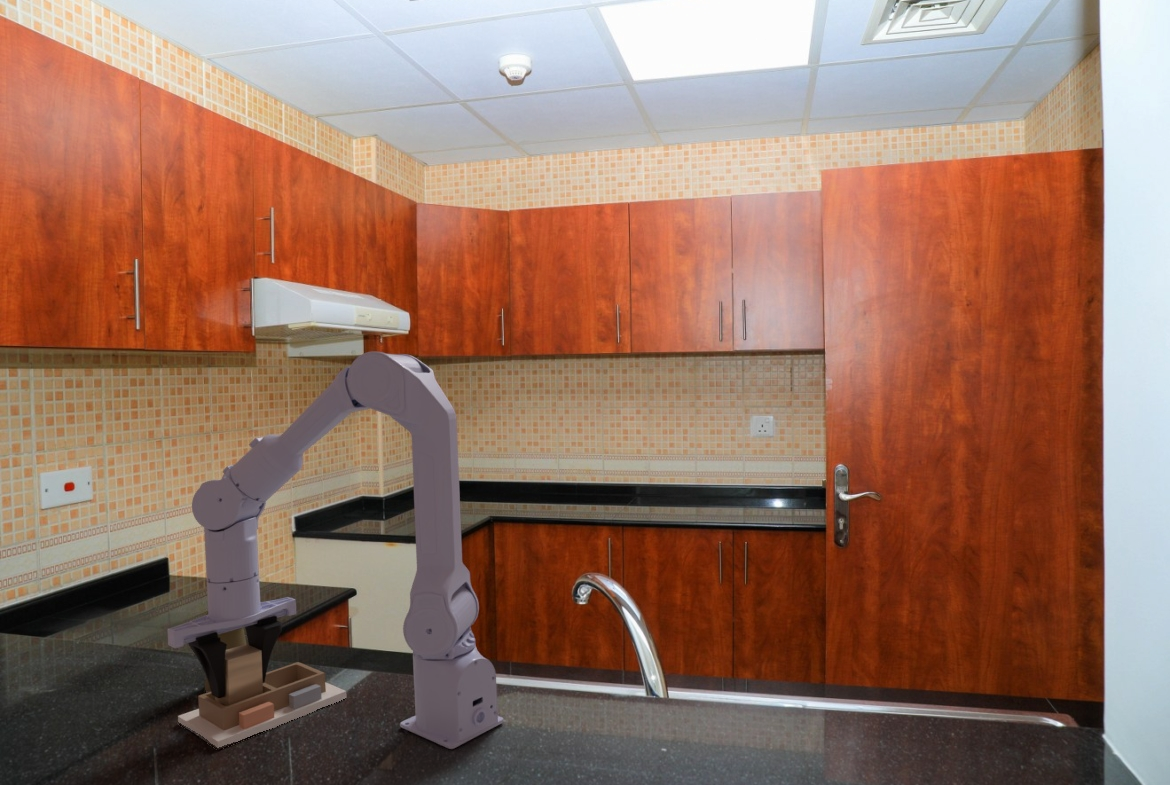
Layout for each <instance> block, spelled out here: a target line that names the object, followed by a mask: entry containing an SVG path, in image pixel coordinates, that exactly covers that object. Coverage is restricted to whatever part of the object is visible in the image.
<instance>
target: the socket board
mask: <svg viewBox="0 0 1170 785" xmlns="http://www.w3.org/2000/svg"><path fill="white" fill-rule="evenodd" d="M197 698H198V700H197V701H198V708H196V709H194V710H190V711H188V712H186V713H185V712H184V713H182V714H180V715H177V721H178V722H179V723H181V724H182V725H184V726H186V727H188V728H190V729H191V730H193V731H195V732H196V733H198V734H200V735H201V736H203V737H204V738H205V739H207V740H208V741H209V742H210V743H211V744H213V745H215V746H216V747H217V748H219V747H222V746H224V745H227V744H231V743H233V742H238V741H240V740H242V739H245V738H247V737H250V736H252V735H254V734H257V733H259V732H263V731H265V732H267V731H266V730H268V731H270V730H273V729H275V728H277V726H278V727H280V726H282V725H281V724H283V725H285V724H287V722H288V723H290V722H292V721H291V720H293V721H295V720H297V718H298V719H300V718H303V717H305V716H307V714H308V715H310V714H313V713H315V712H317V711H316V710H317V709H320V708H322V707H325V706H328V705H330V706H332V705H335V704H337V703H339V701H340V702H342V701H344V700H343V699H345V698H347V691H346V690H344V689H343V688H340V687H338V686H335V685H333V684H331V683H328V682H326V673H325V672H323V671H322V670H319V669H316V668H314V667H311V666H309V665H307V664H304V663H302V662H299V661H297V662H294V663H291V664H288V665H285V666H282V667H280V668H277V669H273V670H271V671H267V672H266V678H265V682H264V683H263V694H260V695H257V696H254V697H251V698H249V699H246V700H243V701H240V702H238V703H235V704H232V705H229V706H224V705H222V704H220V703H218V702H217V701H215V696H213V695H212V694H211V692H208V693H205V692H204V693H203V694H200V695H198V696H197ZM341 700H342V701H341ZM345 700H346V699H345ZM336 702H337V703H336ZM334 703H335V704H334ZM331 704H332V705H331ZM328 707H329V706H328ZM325 708H326V707H325ZM320 710H321V709H320ZM314 711H315V712H314ZM312 712H313V713H312ZM309 713H310V714H309ZM302 716H303V717H302ZM299 717H300V718H299ZM294 719H295V720H294ZM289 721H290V722H289ZM178 722H177V723H178ZM284 723H285V724H284ZM279 725H280V726H279ZM272 728H273V729H272ZM269 729H270V730H269ZM263 733H264V732H263ZM238 743H239V742H238Z"/></svg>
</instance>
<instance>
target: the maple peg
mask: <svg viewBox="0 0 1170 785" xmlns="http://www.w3.org/2000/svg"><path fill="white" fill-rule="evenodd" d="M224 677H225V697H222V698H217V697H215V701H217V702H218V703H220V704H222V705H224V706H229V705H232V704H235V703H238V702H240V701H243V700H246V699H249V698H251V697H254V696H257V695H260V694H263V679H262V652H261V650H259V649H257V648H254V647H252V646H250V645H249V644H248V643H246V644H245V645H242V646H238V647H235V648H231V649H228V650H226V652H225V662H224Z"/></svg>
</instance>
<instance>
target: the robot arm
mask: <svg viewBox="0 0 1170 785" xmlns="http://www.w3.org/2000/svg"><path fill="white" fill-rule="evenodd" d="M365 410H373V411H377V412H379V413H382V414H383V415H387V416H389V417H390V418H391V419H392V420H394V421H395V422H397V423H398V424H399V425H400V426H401V427H403V428H404V429H405V430H407V431H408V432H409V433H410V435H411V451H412V452H411V454H412V455H411V456H412V475H413V477H412V478H413V480H412V481H413V503H414V504H413V505H414V526H415V528H414V530H415V531H414V532H415V533H414V534H415V553H416V557H415V558H416V572H415V575H414V579H413V582H412V585H411V589H410V592H409V598H410V599H409V609H408V612H407V613H406V616H405V618H404V621H403V626H402V633H403V637H404V640H405V642H406V644H407V646H408V647H409V649H410V650H411V651H412V666H413V667H412V668H413V669H412V670H413V688H414V706H415V707H414V708H415V715H414V716H411V717H409V718H407V719H405V720H403V721H401V722H399V726H400V728H402V729H404V730H406V731H409V732H411V733H413V734H415V735H417V736H420V737H422V738H424V739H426V740H429V741H431V742H434V743H436V744H438V745H439V746H442V747H445V748H447V749H450V750H454V749H455V748H457V747H460V746H461V745H464V744H465V743H468V742H469V741H471V740H473V739H474V738H477V737H479V736H480V735H483V734H484V733H486V732H487V731H490V730H492V729H494V728H495V727H497V726H499V725H501V724H503V722H504V717H502V716H501V715H500V716H499V715H498V713H499V712H498V691H497V674H496V673H497V672H496V669H495V667H494V664H493V663H492V662H491V661H490V660H489V659H488V658H486V657H484V656H483V655H482V654H481V653H480V652H479V651H478V649H477V646H476V638H475V634H474V633H473V631H472V627H471V626H472V625H474V624H475V622H476V620H477V618H478V615H479V612H480V611H479V610H480V605H479V599H478V597H477V596H478V595H477V594H476V593H475V591H474V589H473V587H472V583H471V572H470V571H469V569H468V568H467V567H466V565H465V564H464V563H463V546H462V525H461V524H462V523H461V522H462V520H461V500H460V499H461V497H460V493H461V491H460V471H459V468H460V467H459V446H458V445H459V442H458V421H457V420H458V419H457V414H456V411H455V409H454V407H453V405H452V404H451V402H450V401H449V399H448V398H447V396H446V394H445V392H444V391H443V389H442V388H441V386H440V384H439V383H438V382H437V380H436V376H435V373H434V370H433V368H430V367H429V366H428V365H427V364H425V363H424V362H422V361H421V360H420V359H418V358H416V357H415V356H413V355H410V354H405V353H404V354H403V353H398V354H393V353H392V354H391V353H385V352H382V351H367V352H365V353H362V354H360V355H359V356H357V357H356V358H355V359H354V360H353V362H352V363H351V364H350V366H346V367H345V368H343V369H342V370H340V371H339V372H338V374H337V375H336V376H335V378H334V379H333V380H332V382H331V383H330V384H329V385H328V386H327V387H326V388H325V389H324V390H323V391H322V392H321V393H320V395H319V396H318V397H317V398H315V400H314V401H313V402H312V403H310V405H308V406H307V408H306V409H304V411H303V412H302V413H301V414H300V415H299V416H298V417H297V418H296V419H295V420H294V421H293V423H291V424H290V426H289V427H287V428H286V429H285V430H284V432H282V434H272V433H271V434H267V435H265V436H262V437H261V436H260V437H255V438H254V439H253V440H252V441H251V442H250V443H249V444H248V445H249V447H250V450H248V452H246V453H245V454H244V455H243V456H242V457H240V458H239V459H238V461H237V462H235V464H231V465H227V466H226V467H225V468H224V469H222V473H223V475H222V476H221V478H220V479H210V480H207V481H205V482H202V483H201V484H200V486H199V488H198V489H197V490H196V491H195V493H194V495H193V497H192V499H191V500H192V501H191V511H192V514H193V517H194V519H195V520H196V522H197V523H198V524H199V525H200V526H202V527H203V533H204V550H205V552H204V555H205V569H206V570H205V575H206V591H207V592H206V595H207V612H208V615H206V614H205V615H203V616H201V617H197V618H196V619H192V620H190V621H187V622H184V623H182V624H179V625H175V626H171V627H170V628H167V646H169V647H172V648H173V649H178V648H182V647H184V646H185V645H186V644H188V646H189V647H190V649H191V650H192V653H194V655H195V656H196V659H197V660H198V662H199V664H200V665H201V667H202V670H203V671H204V673H205V678H206V677H207V679H208V682H209V686H210V689H211V694H212V695H213V696H215V697H217V698H222V697H225V677H224V662H225V652H226V646H227V644H226V643H224V642H221V641H220V637H218V634H221V633H225V632H228V631H232V630H236V629H239V628H243V629H244V630H245V631H246V636H247V642H248V643H247V644H248V645H250V646H252V647H254V648H257V649H259V650H261V652H262V679H263V683H264V682H265V678H266V673H267V672H268V668H269V664H270V663H269V662H270V659H271V656H272V653H273V650H274V648H275V645H276V642H277V640H278V638H279V636H280V635H281V633H282V630H283V623H282V622H281V621H279V620H278V618H281V617H284V616H288V617H291V616H294V615H297V602H296V599H295V598H293V597H289V596H287V597H283V598H278V599H274V600H267V601H261V590H260V570H259V552H258V551H259V547H258V545H259V544H258V530H259V518H260V517H261V515H262V513H263V512H264V510H265V507H266V504H267V501H268V500H269V499H270V498H271V497H272V496H274V495H275V493H276V492H278V491H279V490H280V489H282V487H284V485H285V484H287V483H288V482H289V481H290V480H291V479H292V478H293V477H294V476H295V475H296V474H298V473H299V472H300V470H302V468H303V464H304V462H303V461H304V458H303V457H304V453H306V451H308V450H309V449H310V448H311V447H313V446H314V445H315V444H316V443H317V442H318V441H320V440H321V439H322V438H323V437H324V436H326V435H327V434H328V433H329V432H331V431H332V430H333V429H334V428H335V427H337V426H338V425H339V424H340V423H341V422H343V421H344V420H345V419H346V418H347V417H348V416H350V415H351V414H354V413H355V412H361V411H365Z"/></svg>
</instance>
